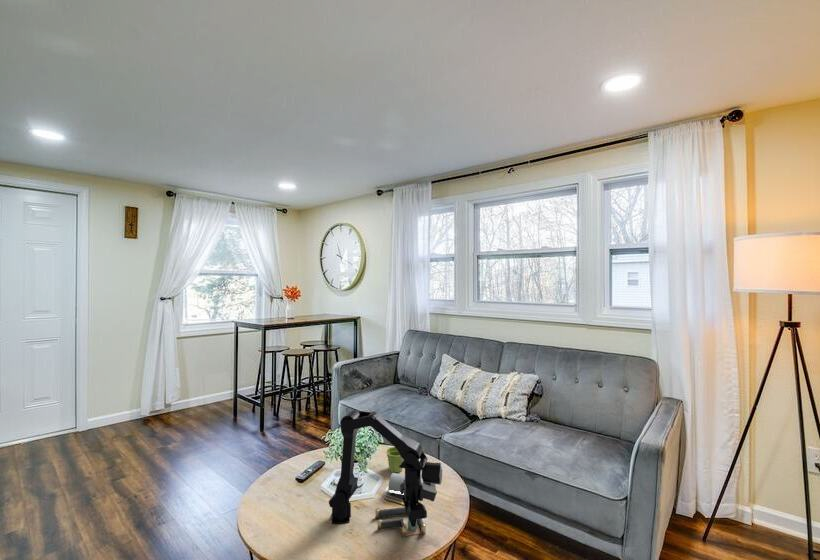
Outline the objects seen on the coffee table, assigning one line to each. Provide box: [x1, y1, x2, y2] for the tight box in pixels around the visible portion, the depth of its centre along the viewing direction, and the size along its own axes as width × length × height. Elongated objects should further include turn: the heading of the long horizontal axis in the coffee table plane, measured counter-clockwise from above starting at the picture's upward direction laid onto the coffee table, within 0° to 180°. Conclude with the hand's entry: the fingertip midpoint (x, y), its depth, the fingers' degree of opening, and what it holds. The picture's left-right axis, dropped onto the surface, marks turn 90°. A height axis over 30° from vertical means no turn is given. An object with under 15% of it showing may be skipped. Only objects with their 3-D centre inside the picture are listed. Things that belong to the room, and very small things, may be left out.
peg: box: [407, 517, 418, 531], centre depth 138 cm, size 3×3×7 cm
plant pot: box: [385, 446, 404, 473], centre depth 181 cm, size 9×9×9 cm
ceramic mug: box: [388, 472, 405, 492], centre depth 162 cm, size 11×8×8 cm
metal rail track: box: [374, 506, 427, 538], centre depth 140 cm, size 16×14×3 cm
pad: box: [404, 523, 422, 536], centre depth 138 cm, size 5×5×1 cm
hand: (412, 523), depth 138 cm, fingers closed on peg, 3 cm apart
